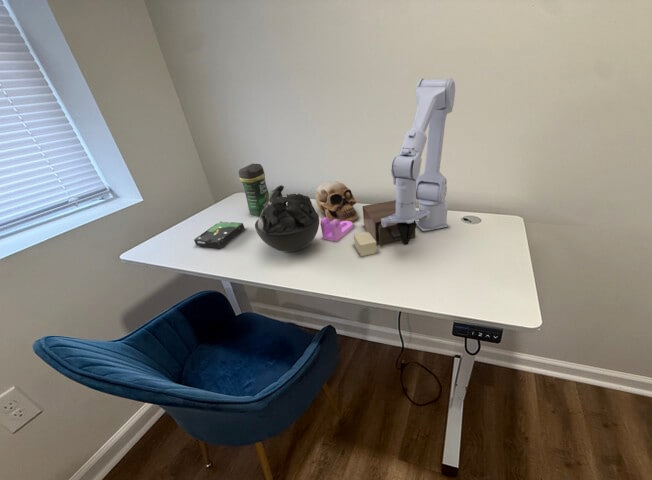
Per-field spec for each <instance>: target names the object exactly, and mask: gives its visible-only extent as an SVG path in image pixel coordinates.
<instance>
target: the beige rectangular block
mask: <svg viewBox="0 0 652 480" xmlns="http://www.w3.org/2000/svg"><path fill="white" fill-rule="evenodd" d="M353 243H354V244H353V245H354V247H355V248H356V251H357V252H358V253H359V255H360V257H365V256H369V255H374V254H377V253H378V247H377V244H376V241H375V240H374V238H373V237H372V236H371V234H370V233H369V232H368V231H365V232H361V233H356V234H353Z"/></svg>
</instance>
